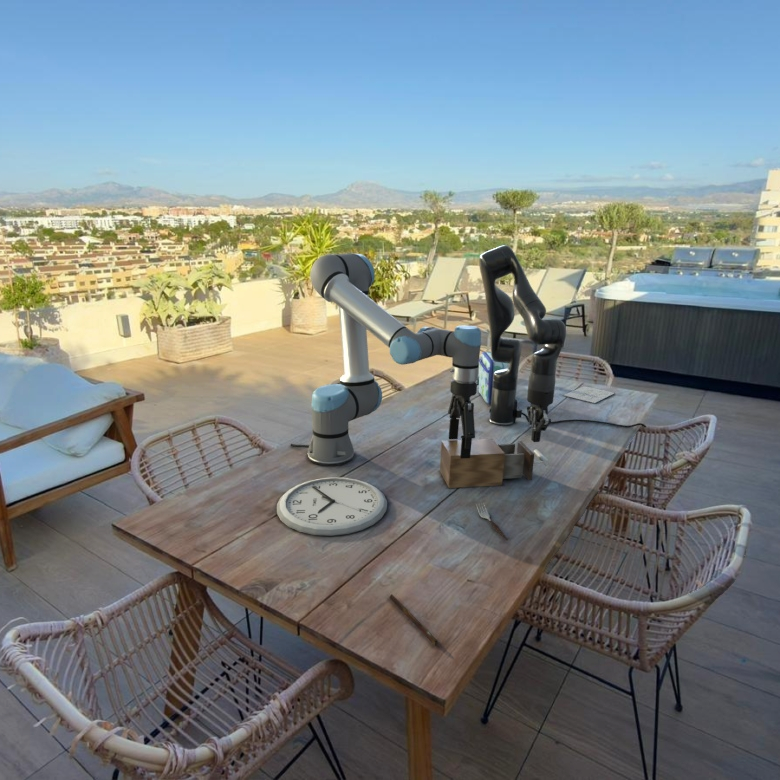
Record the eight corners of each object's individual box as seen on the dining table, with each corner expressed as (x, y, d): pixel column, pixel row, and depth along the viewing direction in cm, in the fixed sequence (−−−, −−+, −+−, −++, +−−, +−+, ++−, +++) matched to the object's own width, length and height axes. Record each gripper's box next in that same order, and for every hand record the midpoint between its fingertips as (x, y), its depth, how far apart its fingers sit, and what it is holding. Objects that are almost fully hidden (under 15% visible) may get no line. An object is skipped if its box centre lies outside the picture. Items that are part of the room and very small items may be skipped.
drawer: (535, 464, 167) (538, 440, 165) (549, 478, 158) (552, 453, 156) (473, 467, 165) (475, 443, 162) (483, 482, 155) (485, 456, 153)
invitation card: (584, 385, 255) (614, 392, 245) (584, 386, 255) (614, 393, 245) (563, 394, 240) (594, 402, 230) (563, 395, 240) (594, 403, 230)
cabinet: (489, 468, 166) (492, 438, 163) (502, 485, 156) (505, 453, 153) (439, 471, 164) (441, 440, 161) (448, 488, 153) (450, 455, 150)
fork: (502, 542, 127) (502, 535, 126) (474, 509, 141) (475, 503, 141) (511, 541, 127) (512, 534, 127) (483, 508, 142) (484, 502, 142)
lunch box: (475, 390, 246) (478, 346, 240) (498, 390, 246) (501, 347, 240) (484, 408, 221) (487, 360, 215) (509, 409, 221) (513, 360, 215)
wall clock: (392, 527, 129) (268, 531, 127) (391, 533, 130) (269, 537, 127) (383, 473, 158) (282, 475, 155) (383, 478, 158) (282, 480, 156)
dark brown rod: (389, 598, 107) (389, 594, 107) (391, 597, 107) (391, 593, 107) (435, 645, 95) (435, 641, 95) (437, 644, 96) (437, 640, 95)
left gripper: (441, 368, 161) (437, 432, 168) (463, 394, 138) (457, 467, 144) (464, 368, 162) (459, 431, 169) (490, 393, 139) (483, 466, 145)
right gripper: (520, 380, 160) (515, 433, 165) (538, 394, 147) (532, 450, 152) (543, 380, 161) (538, 432, 166) (563, 393, 148) (556, 449, 153)
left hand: (458, 448), depth 156 cm, fingers open, 13 cm apart
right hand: (535, 441), depth 159 cm, fingers closed
